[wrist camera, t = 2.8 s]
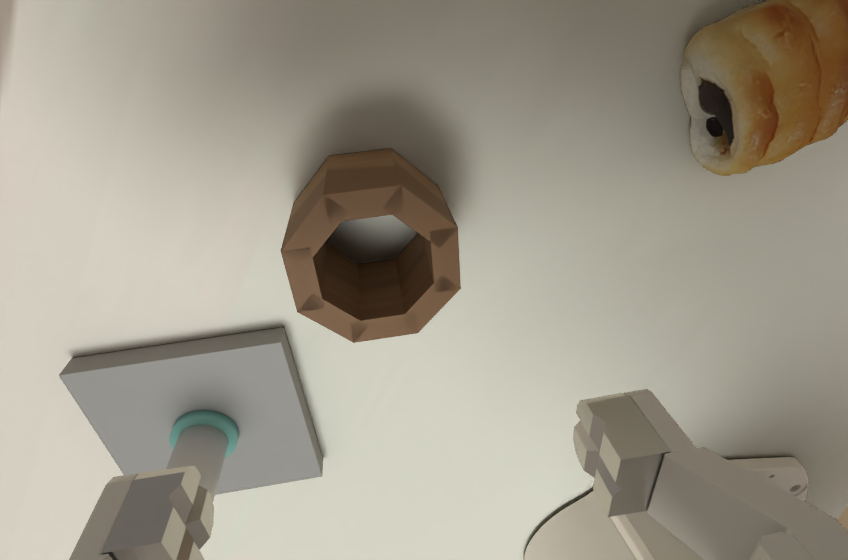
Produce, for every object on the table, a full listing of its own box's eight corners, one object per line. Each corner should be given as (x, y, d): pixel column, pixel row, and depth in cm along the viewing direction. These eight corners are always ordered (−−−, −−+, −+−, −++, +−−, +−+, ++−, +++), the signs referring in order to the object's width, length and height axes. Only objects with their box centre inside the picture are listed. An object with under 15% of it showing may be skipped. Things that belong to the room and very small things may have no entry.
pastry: (900, -86, 18) (1023, -104, 15) (885, 84, 21) (981, 101, 18) (663, 37, 19) (728, 46, 16) (686, 180, 22) (743, 212, 19)
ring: (434, 142, 20) (455, 177, 16) (443, 271, 23) (462, 326, 19) (283, 160, 19) (266, 201, 15) (314, 289, 22) (307, 349, 18)
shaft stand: (283, 327, 23) (261, 440, 17) (322, 459, 28) (316, 581, 22) (72, 358, 22) (-29, 488, 16) (152, 488, 28) (98, 622, 22)
